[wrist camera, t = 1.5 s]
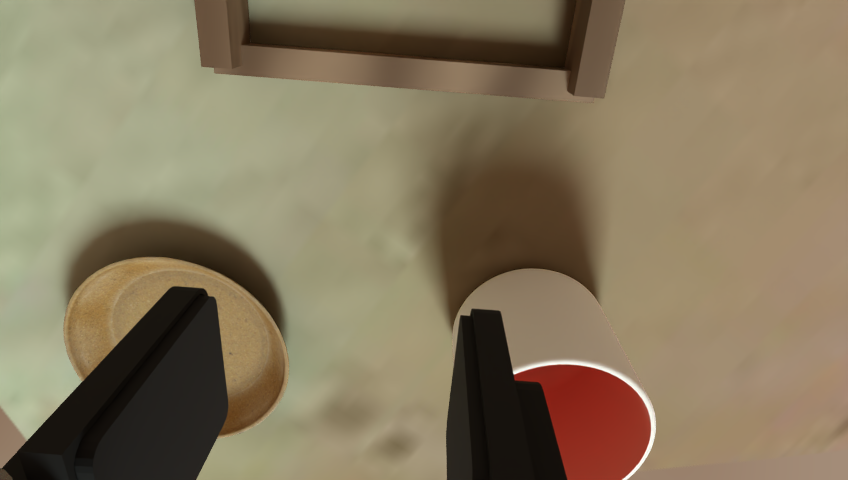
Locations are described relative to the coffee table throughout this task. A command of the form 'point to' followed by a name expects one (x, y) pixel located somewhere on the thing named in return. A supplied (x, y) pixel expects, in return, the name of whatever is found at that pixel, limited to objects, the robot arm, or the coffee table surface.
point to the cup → (572, 370)
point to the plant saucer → (238, 319)
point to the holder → (416, 59)
